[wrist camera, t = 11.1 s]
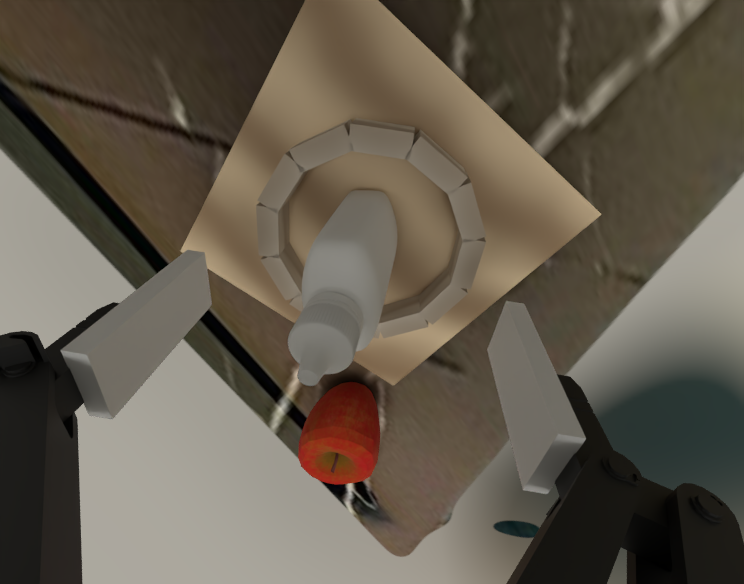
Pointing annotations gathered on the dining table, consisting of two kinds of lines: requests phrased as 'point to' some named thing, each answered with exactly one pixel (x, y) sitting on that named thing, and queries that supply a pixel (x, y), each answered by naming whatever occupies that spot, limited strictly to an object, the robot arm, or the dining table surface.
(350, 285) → the eye dropper bottle
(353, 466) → the apple
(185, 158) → the dining table surface
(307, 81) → the socket stand
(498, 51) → the dining table surface
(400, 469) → the dining table surface
